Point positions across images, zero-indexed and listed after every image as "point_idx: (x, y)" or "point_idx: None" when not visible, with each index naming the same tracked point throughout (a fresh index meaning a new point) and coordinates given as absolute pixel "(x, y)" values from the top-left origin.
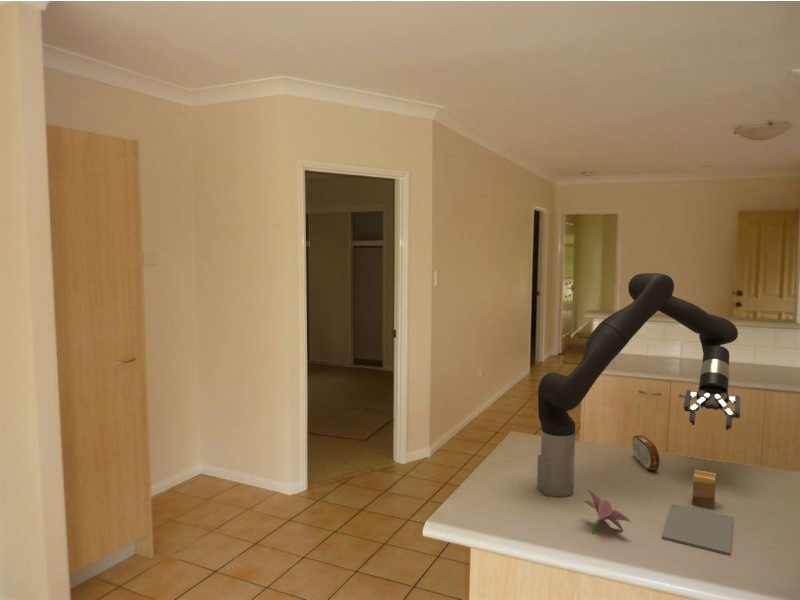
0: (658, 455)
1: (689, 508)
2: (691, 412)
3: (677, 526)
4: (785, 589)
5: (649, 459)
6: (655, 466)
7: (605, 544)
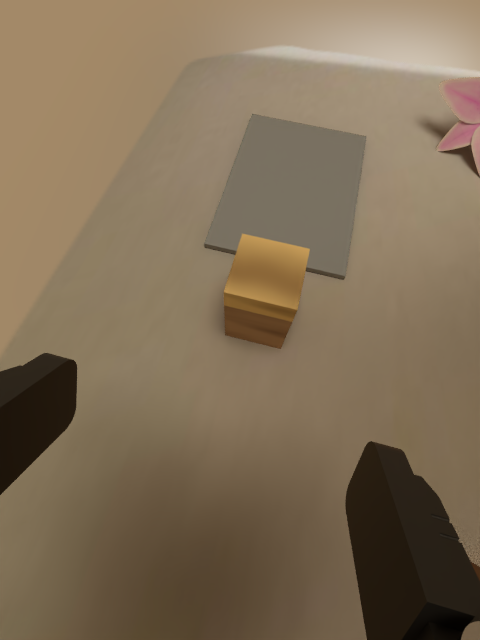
0: None
1: None
2: (465, 598)
3: (336, 174)
4: (196, 64)
5: None
6: None
7: None
